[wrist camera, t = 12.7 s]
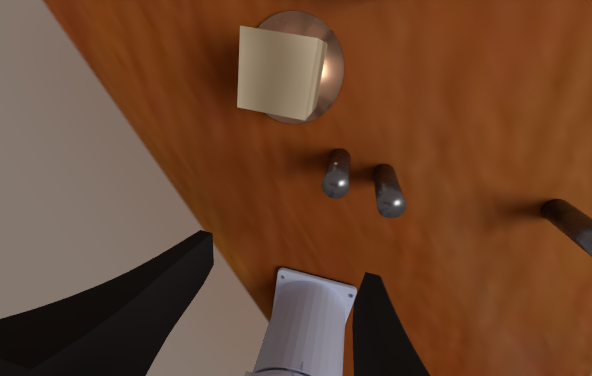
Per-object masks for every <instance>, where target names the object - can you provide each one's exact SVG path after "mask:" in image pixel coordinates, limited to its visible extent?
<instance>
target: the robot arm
mask: <svg viewBox="0 0 592 376" xmlns="http://www.w3.org/2000/svg"><path fill="white" fill-rule="evenodd" d="M213 265H214V260H213V236H212V233H210V232H206V231H202V230H200V231H198V232H197V233H195V234H193V235H192V236H190V237H188V238H187V239H185V240H184V241H182V242H180V243H179V244H177V245H175V246H174V247H172V248H170V249H169V250H167V251H165V252H163V253H162V254H160V255H159V256H157V257H155V258H153V259H151V260H150V261H148V262H146V263H144V264H142V265H140V266H138V267H137V268H135V269H133V270H131V271H129V272H127V273H125V274H123V275H121V276H118V277H116V278H114V279H112V280H110V281H107V282H105V283H103V284H101V285H98V286H96V287H94V288H91V289H88V290H86V291H83V292H81V293H78V294H76V295H73V296H70V297H68V298H65V299H62V300H59V301H57V302H54V303H51V304H48V305H45V306H42V307H39V308H36V309H33V310H30V311H26V312H23V313H20V314H16V315H13V316H9V317H6V318H2V319H0V376H145V375H146V374H147V372H148V370H149V368H150V366H151V364H152V363H153V361H154V359H155V357H156V355H157V354H158V352H159V350H160V349H161V347H162V345H163V343H164V342H165V340H166V338H167V337H168V335H169V333H170V332H171V330H172V329H173V327H174V326H175V324H176V323H177V321H178V320H179V318H180V317H181V316H182V314H183V313H184V311H185V310H186V308H187V307H188V306H189V304H190V303H191V301H192V300H193V298H194V297H195V296H196V294H197V293H198V291H199V290H200V288H201V287H202V285H203V284H204V281H205V280H206V278H207V276H208V275H209V272H210V270H211V269H212V267H213ZM281 275H282V276H281ZM356 293H357V289H356V288H355V287H354V286H351V285H347V284H343V283H340V282H336V281H332V280H328V279H325V278H321V277H317V276H313V275H309V274H306V273H302V272H298V271H294V270H291V269H287V268H280V269H279V271H278V275H277V282H276V289H275V296H274V303H273V311H272V316H271V319H270V322H269V325H268V328H267V331H266V334H265V337H264V340H263V343H262V346H261V349H260V352H259V355H258V358H257V361H256V364H255V367H254V370H253V373H252V372H246V373H245V376H342V372H343V350H344V328H345V324H346V321H347V318H348V315H349V313H350V310H351V307H352V304H353V302H354V299H355V296H356ZM352 327H353V359H354V376H430V374H429V373H428V371H427V370H426V368H425V366H424V365H423V363H422V361H421V359H420V358H419V356H418V354H417V352H416V351H415V349H414V347H413V345H412V343H411V342H410V340H409V338H408V336H407V334H406V332H405V330H404V328H403V326H402V324H401V322H400V320H399V318H398V316H397V314H396V312H395V309H394V307H393V305H392V303H391V300H390V298H389V296H388V293H387V291H386V288H385V286H384V283H383V281H382V278H381V277H380V276H379V275H375V274H371V273H367V272H366V273H365V275H364V278H363V280H362V283H361V286H360V288H359V291H358V294H357V296H356V299H355V302H354V311H353V325H352Z"/></svg>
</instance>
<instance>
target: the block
mask: <svg viewBox="0 0 592 376" xmlns="http://www.w3.org/2000/svg"><path fill="white" fill-rule="evenodd" d="M326 49H327V43H326V42H324V41H322V40H320V39H319V38H314V37H308V36H301V35H295V34H289V33H283V32H276V31H270V30H264V29H257V28H251V27H245V26H240V44H239V72H238V101H237V107H239V108H244V109H249V110H254V111H259V112H264V113H269V114H274V115H279V116H284V117H289V118H294V119H299V120H304V121H305V120H306V119H307V117H308V116H309V115H310V114H311V113H312V112H313V110H314V109H315V108H316V105H317V99H318V94H319V88H320V83H321V77H322V71H323V66H324V60H325V55H326Z"/></svg>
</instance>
